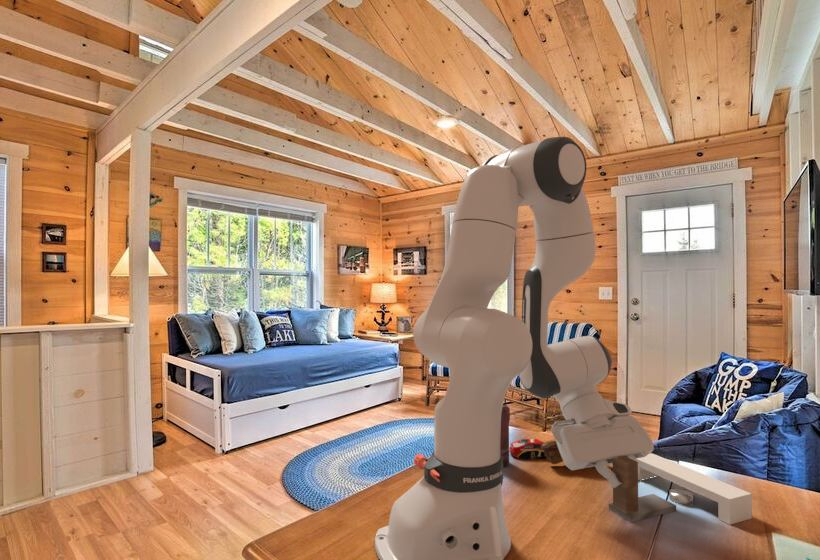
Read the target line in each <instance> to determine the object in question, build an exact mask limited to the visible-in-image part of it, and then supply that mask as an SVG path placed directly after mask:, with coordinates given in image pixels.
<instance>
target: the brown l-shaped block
mask: <svg viewBox="0 0 820 560" xmlns="http://www.w3.org/2000/svg"><path fill="white" fill-rule="evenodd" d="M612 472H613V473H614V474H615V475H618V474H619V475H620V477H621V480H622V481H623V483H624V484H623V485H622V486H621V487H617V488H613V487H612V502H611V503H608V510H609V511H611V512H613V513H614V514H616V515H618V516H619V517H621V518H623V519H625V520H626V521H628V522H630V523H633V522H637V521H641V520H645V519H649V518H653V517H657V516H661V515H666V514H669V513H673V512H677V505H676V503H674V502H673V503H672V501H669V500H666V499H664V498H663V497H660V496H659V495H657V494H654V493H651V494H647V495H643V496H639V483H638V462H637V461H635V460H632V459H630V458H628V457H626V456H623V457H617V458H613V463H612Z"/></svg>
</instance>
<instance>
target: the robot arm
mask: <svg viewBox="0 0 820 560" xmlns="http://www.w3.org/2000/svg"><path fill="white" fill-rule="evenodd" d="M586 176H587V159H586V156H585V153H584V152H583V149H582V148H581V146H580V145H579V144H577V142H575V140H574V139H572V138H570V137H567V136H553V137H547V138H545V139H543V140H539V141H535V142H531V143H527V144H523V145H517V146H515V147H512V148H510V149H508V150H505V151H504V152H501V153H500V154H495V155H493V156H491V157H490V158H488V159H486V160H485V161H484V162H483V163H481V164H480V165H478V166H476V167H473V168H472V169H471V170H469V171H468V173H467V174H466V175H465V176H464V180H463V182H462V184H461V188H460V191H459V194H458V198H457V200H456V204H455V208H454V213H453V216H452V217H453V218H452V224H451V229H450V230H451V231H450V236H449V241H448V247H447V253H446V259H445V264H444V266H443V267H444V268H443V270H442V273H441V275H440V279H439V282H438V284H437V285H436V289H435V291H434V294H433V295H432V298H431V301H430V303H429V305H428V306H427V308H426V310H424V311H423V312H422V313H421V314H420V316H419V317H418V318H417V320H416V321H415V323H414V327H413V332H412V335H413V336H412V337H413V341H414V345H415V347H416V349H417V350H418V352H419V353H421V355H423V356H424V357H425V358H426V359H428V360H429V361H430V362H432V363H434V364H436V365H438V366H441V367H444V368H447V369H449V371H450V372H449V380H448V385H447V389H446V390H445V391H446V392H445V393H444V394H445V395H443V397H442V398H441V399H440V400H438V401H437V403H436V404H435V408H434V411H433V416H434V417H433V418H434V419H433V420H434V422H433V423H434V424H433V425H434V426H433V428H434V429H433V431H434V432H433V434H434V435H433V436H434V437H433V439H434V440H433V442H434V443H433V445H434V448H433V449H434V450H433V451H432V453H431V455H430V457H429V458H427V457H426V456H424V455H423V454H421V453H418V454H416V455H415V457H414V458H413V463H414V465H415V466H417V468H418V469H419V470H423V474H424V475H423V476H422V477H421V478H420V479H419V480H418V481H417V482H415V484H414V485H412V487H410V488H409V489H408V490H407V491H405V493H403V494H402V495H401V496H400V497H399V498H397V499H395V502H394V503H393V504H392V507H391V509H390V514H389V520H388V525H385V526H382V527H380V528H378V530H377V531H376V533H375V539H374V549H375V553H376V555H377V557H378V560H379V559H380V560H504V559H505V557H506V556H507V555H508V553H509V552H510V550H511V548H512V541H511V537H510V534H509V530H508V526H507V521H506V516H505V510H504V502H503V500H504V499H503V489H502V487H503V486H502V485H503V483H504V467H503V457H502V455H501V454H500V435H501V412H502V406H503V404H504V401H505V397H506V395H507V392H508V390H509V388H510V385H511V383H512V382H513V381H514V380H515V378H517V376H518V378H519V380H520V382H521V385H522V386H523V388H524V389H525V390H526V391H527V392H529V393H530V394H532V395H534V396H536V397H539V398H541V399H546V398H547V399H548V398H550V397H554V399H555V400H556V401H557V403H558V404H559V408H560V411H561V414H562V416H563V417H564V419H565V420H556V421H554V422H553V424H552V425H551V429H550V430H551V434H552V436H553V437H554V440H555V441H556V443H557V446H558V449H559V452H560V454H561V457H562V459H563V461H564V462H563V461H562V462H563V464H564V465H565V467H566V468H568V469H569V470H570V471H577V470H582V469H583V470H584V469H586V468H587V469H588V468H592V467H595V469H596V472H598V473H599V474H600V475H601V476H602V477H603V478H605V479H606V480H607V481H608V483H609V484H610V486H611V487H612V489H613V488H617V487H621V486H622V485H623V484H624V483H623V481H622V480H621V477H620V475H619V474H618V475H615V474H614V473H613V470H611V469H610V468H609V466H610V464H613V458H617V457H623V456H626V457H628V458H630V459H632V460H635V461H636V458H642V457H645V456H647V455H648V454H650V453H652V452H653V451H654V448H655V445H654V442H653V440H652V439H651V437H650V435H649V434H648V432H647V431H646V429H645V428H644V426H643V424H641V422H640V421H639V420H638V419H637V418H636V417H634V416H632V413H633V412H632V409H631V407H630V406H629V405H628V404H627V403H626V404H625V403H622V402H616V401H613V400H611V399H607V398H603V395H602V394H601V393H599V391H598V389H597V385H599V384H601V383H602V382H604V380H606V379H607V377H608V376H609V374H610V372H611V370H612V366H613V360H612V357H611V354H610V352H609V350H608V348H607V347H606V346H605V345H604V343H603V342H601V341H600V340H599V339H598V338H596V337H594V336H592V335H584V336H583V335H582V336H578V337H573V338H570V339H567V340H562V341H559V342H554V343H549V344H548V334H549V333H548V328H549V323H548V322H549V309H550V305H551V303H552V301H553V300H554V298H555V297H556V296H557V295H558V294H559V293H560V292H562V290H563V289H565V288H566V287H568V286H570V285H571V284H573V283H574V282H576V281H577V280H579V279H580V278H582V277H583V276H584V275H585V274H586V273H587V272H588V271H589V269H590V268H591V267H592V265H593V264H594V261H595V259H596V258H595V257H596V249H597V248H596V237H595V232H594V225H593V224H594V223H593V219H592V214H591V210H590V206H589V203H588V200H587V199H588V198H587V196H586V194H585V191H584V188H583V186H584V183H585V180H586ZM524 206H528V207H529V209H530V210H531V212H532V213H533V228H534V229H533V230H534V238H535V255H534V257H533V261H532V265H531V267H529V268H528V270H527V271H525V274H524V277H523V284H522V298H521V318H519V317H517V316H515V315H512V314H509V313H507V312H505V311H502V310H500V309H496V308H488V307H489V304H490V302H491V300H492V298H493V297H494V294H495V293H496V291H497V290H498V289H499V288H500V287H501V286H502V285H503V284H505V282H506V281H507V280H508V278H509V276H510V273H511V268H512V262H513V256H514V254H513V253H514V248H515V241H516V234H517V225H518V218H519V217H518V216H519V207H524ZM642 481H643V480H642V478H641V476H640V474H639V473H638V484H639V483H641V482H642Z"/></svg>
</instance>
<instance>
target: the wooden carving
mask: <svg viewBox="0 0 820 560" xmlns="http://www.w3.org/2000/svg"><path fill="white" fill-rule="evenodd" d="M544 443H545V444H543V445H542V447H541V448H542V450H544V453H545V455H546V458H545V459H546V461H547V463H549V464H552V465H558V464H560V463H564V461H563V459H562V457H561V454H560V452H559V449H558V446H557V443H556V440H550V441H546V442H544Z"/></svg>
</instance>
